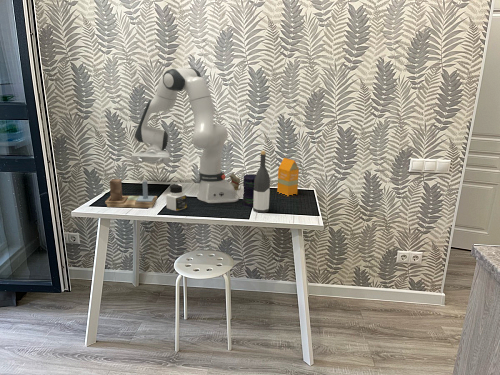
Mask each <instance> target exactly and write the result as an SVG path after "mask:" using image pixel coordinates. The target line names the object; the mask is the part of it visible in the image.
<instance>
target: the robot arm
mask: <svg viewBox="0 0 500 375" xmlns="http://www.w3.org/2000/svg"><path fill="white" fill-rule="evenodd" d="M183 91H185V92H186V94H187V95H188V99H189V104H190V107H191V110H192V114H193V126H194V127H193V133H192V135H191V138H192V139H191V140H192V144H193V145H194V146H195V147H196V148H198V149H203V151H202V153H201V155H200V157H199V173H198V182H199V188H198V194H197V196H196V198H197V199H198V200H199V201H200V202H201V201H202V202H205V203H208V204H222V203H235V202H238V201H239V200H240V196H239V193H237V192H236V190H235V189H234V186H233V185H232V184H231V183H230V182H229V181H228V180H226V175H225V172H222V157H223V150H224V146H225V142H226V140H227V138H228V137H229V136H228V134H229V133H228V130H227V127H226V126H224V125H223V124H218V123H214V115H215V112H216V111H215V106H214V104H213V103H214V102H213V99H212V96H211V93H210V92H211V91H210V90H209V86H208V85H207V82H206V80H205V79H204V78H203V77H202V76H201V72H200V71H199V70H197V68H193V67H189V68H188V67H176V68H171V69H168V70H166V71H164V73H163V75H162V76H160V80H159V82H158V85H157V88H156V93H155V95H154V97H153V98H151V99H149V100H148V101H147V103H146V106H145V108H144V111H143V113H142V115H141V118H140V120H139V123H138V125H137V126H136V128H135V130H134V138H135V140H136V141H137V142H138V143H143V144H149V145H148V147H147V149H145V152H137V151H136V152H133V153H132V154H131V157H130V159H131V161H132V162H133V163H134V162H135V163H139V164H140V163H149V164H150V165H151V164H169V163H170V157H171V156H170V153H169V150H166V148H167V145H168V141H169V134H168V132H167V131H166V130H165V129H161V128H156V127H152V126H149V125H148V121H149V120H150V118H151V115H152V114H154V113H160V112H161V113H163V112H167V111H170V110H171V109H173V108H175V104H176V102H177V97H178V94H179V92H183Z"/></svg>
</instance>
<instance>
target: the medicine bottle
mask: <svg viewBox="0 0 500 375" xmlns="http://www.w3.org/2000/svg"><path fill="white" fill-rule="evenodd" d="M165 197H166V198H165V200H166V209H168V210H170V211H173V212H174V211H175V212H179V211H181V210H185V209H186V208H188V206H187V194H186V193H184V192H183V185H182V184H179V183H174V184H171V185H169V193H167V194H166V195H165Z"/></svg>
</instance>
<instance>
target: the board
mask: <svg viewBox="0 0 500 375" xmlns="http://www.w3.org/2000/svg"><path fill="white" fill-rule="evenodd" d="M139 196H140V195H122V199H123V200H122V201H111V195H110V196H109V197H108V198H107V199H106V200H105V202H104V203H105V205H106V208H136V209H137V208H139V209H140V208H141V209H142V208H143V209H144V208H146V209H147V208H149V209H151V208H154V205H156V202H157V200H158V196H157V195H153V196H154V199H153V201H152V202H137V201H136V200H137V199H138V198H139Z"/></svg>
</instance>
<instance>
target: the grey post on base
mask: <svg viewBox="0 0 500 375" xmlns="http://www.w3.org/2000/svg"><path fill="white" fill-rule="evenodd" d="M141 184H142V195H138V196H139V198H138V199H137V200H136V201H137V202H152V201H153V199H154V196H155V195H149V190H148V188H149V187H148V180H142V183H141Z"/></svg>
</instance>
